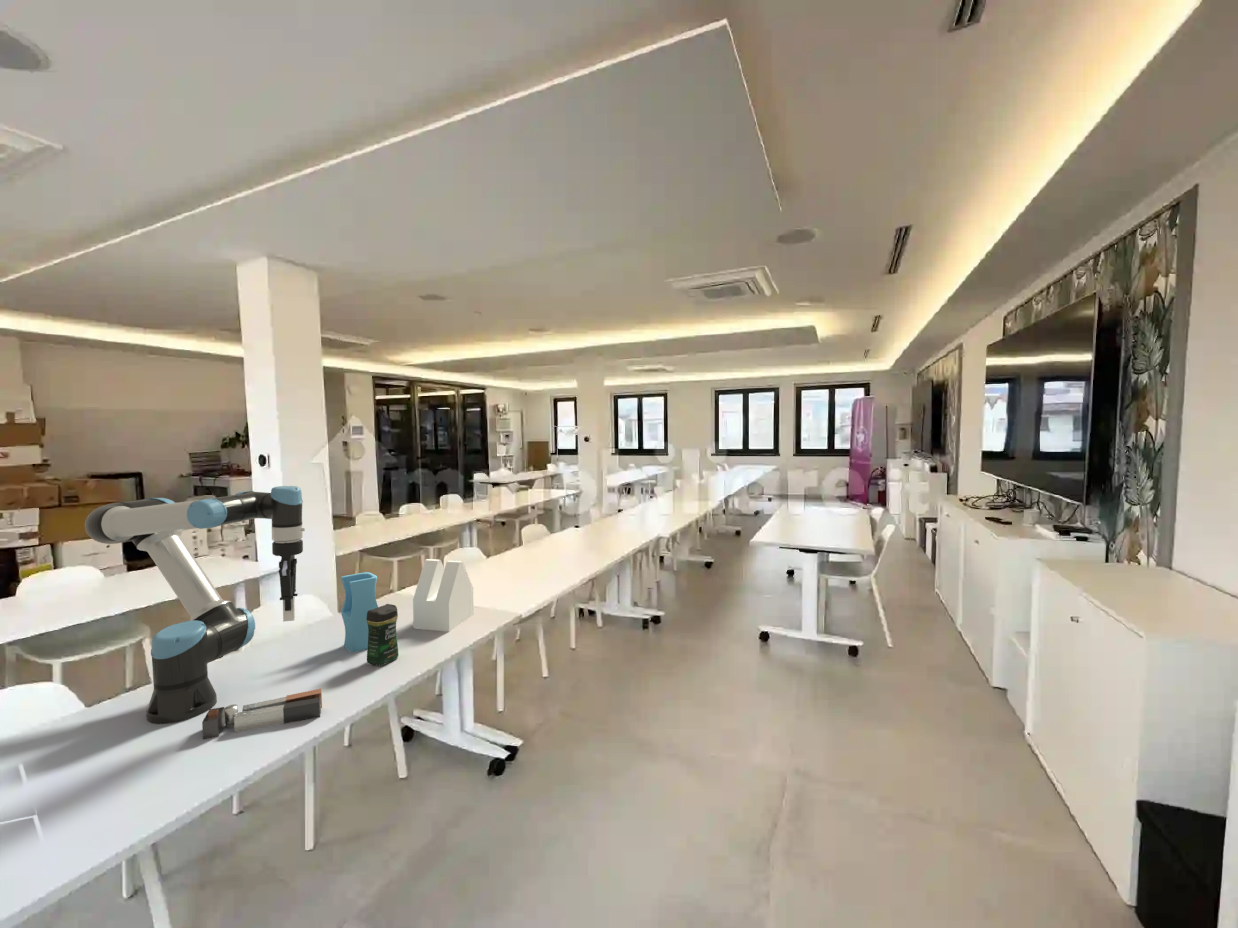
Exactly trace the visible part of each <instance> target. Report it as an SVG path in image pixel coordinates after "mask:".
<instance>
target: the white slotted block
mask: <svg viewBox="0 0 1238 928" xmlns="http://www.w3.org/2000/svg"><path fill="white" fill-rule="evenodd" d="M412 609H413V610H412V611H413V612H412V614H413V623H412V624H413V629H417V630H418V629H419V630H426V631H429V630H430V631H438V632H446V633H450V632H451V631H453V630H454V629H456V628H457V627H458V626H460V625H461V624H462V623H464V622H465V621H467V620H468V619H470V618H471V617H472V616H474V587H473V585H472V582H471V580H470V577H469V574H468V572H467V569H466V567H465V565H464V562H463V561H462V560H447V561H446V562H445V566H444V564H443V562H442V560H441V559H435V558H434V559H433V558H426V559H424V563H423V565H422V568H421V572H420V575H419V579H418V582H417V585H416V588H415V592H414V595H413V599H412ZM455 627H456V628H455Z"/></svg>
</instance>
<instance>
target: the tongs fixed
mask: <svg viewBox="0 0 1238 928" xmlns="http://www.w3.org/2000/svg"><path fill="white" fill-rule="evenodd" d="M321 713H322V708H321V697H319V698H313V699H307V700H302V701H296V702H290V703H285V705H279V706H273V707H268V708H262V709H256V710H250V711H245V712H242V711H240V712H239V711H238V713H236V715H235V717H234V733H238V732H246V731H250V730H255V729H256V730H257V729H260V728H266V727H271V726H278V725H282V724H283V725H284V724H285V725H286V724H290V723H296V722H301V721H306V720H312V719H317V718H321ZM201 723H202V725H201V726H202V740H208V739H212V738H217V737H218V738H219V737H220V736H221V732H222V731H223V729H224V727H225V706H222V707H216V708H215V707H214V708H211V709H210V710H208V711H207V712H206V715H205V716H204V718H203V720H202V722H201Z"/></svg>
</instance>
